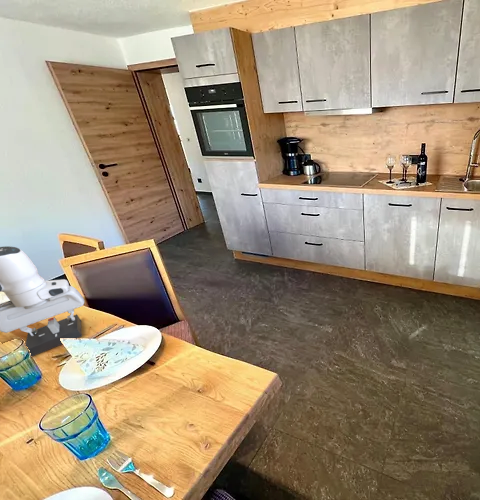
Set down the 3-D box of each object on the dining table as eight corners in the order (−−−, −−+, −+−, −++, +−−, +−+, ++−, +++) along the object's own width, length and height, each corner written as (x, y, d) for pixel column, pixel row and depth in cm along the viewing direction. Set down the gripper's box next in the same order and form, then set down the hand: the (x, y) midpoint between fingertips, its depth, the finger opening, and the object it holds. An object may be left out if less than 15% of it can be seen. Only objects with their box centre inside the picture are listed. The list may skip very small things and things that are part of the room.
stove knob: (59, 331, 97) (53, 323, 95) (53, 334, 96) (46, 325, 94) (59, 324, 100) (53, 316, 98) (53, 327, 99) (47, 318, 97)
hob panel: (29, 357, 92) (24, 350, 90) (32, 338, 99) (27, 331, 98) (82, 336, 99) (77, 329, 97) (81, 320, 106) (76, 313, 105)
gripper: (-20, 314, 83) (9, 348, 90) (72, 285, 95) (92, 317, 101) (-16, 304, 87) (12, 337, 94) (72, 277, 99) (91, 309, 105)
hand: (54, 327), depth 98 cm, fingers open, 8 cm apart
